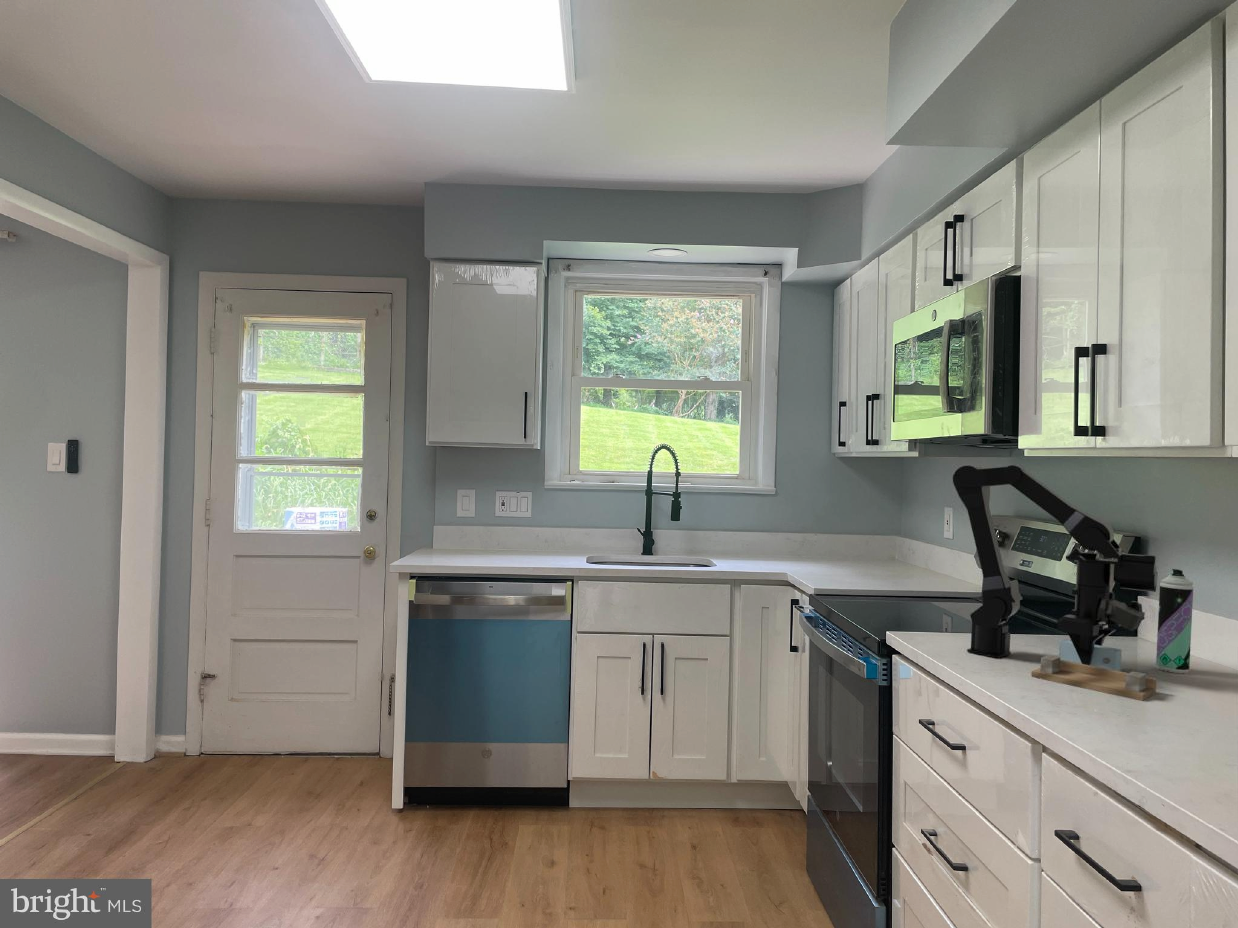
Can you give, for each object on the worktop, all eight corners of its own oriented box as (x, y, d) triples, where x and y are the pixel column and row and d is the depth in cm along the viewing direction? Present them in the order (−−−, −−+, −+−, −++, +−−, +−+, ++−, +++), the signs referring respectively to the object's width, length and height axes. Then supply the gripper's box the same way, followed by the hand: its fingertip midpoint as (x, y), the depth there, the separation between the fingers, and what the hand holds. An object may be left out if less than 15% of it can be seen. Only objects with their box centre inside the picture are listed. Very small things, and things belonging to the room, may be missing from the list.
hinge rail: (1031, 676, 152) (1032, 657, 152) (1047, 670, 157) (1048, 651, 157) (1142, 700, 139) (1143, 679, 139) (1155, 692, 144) (1156, 672, 144)
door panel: (1056, 666, 161) (1057, 641, 161) (1064, 664, 163) (1065, 639, 163) (1113, 678, 153) (1114, 652, 153) (1120, 675, 156) (1121, 649, 156)
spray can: (1149, 666, 164) (1154, 567, 163) (1169, 665, 165) (1174, 567, 165) (1175, 674, 158) (1180, 571, 158) (1195, 672, 160) (1201, 571, 160)
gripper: (1124, 595, 146) (1120, 682, 146) (1155, 587, 159) (1151, 667, 159) (1057, 586, 154) (1054, 668, 154) (1092, 579, 167) (1088, 655, 167)
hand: (1089, 665), depth 158 cm, fingers closed on door panel, 3 cm apart
